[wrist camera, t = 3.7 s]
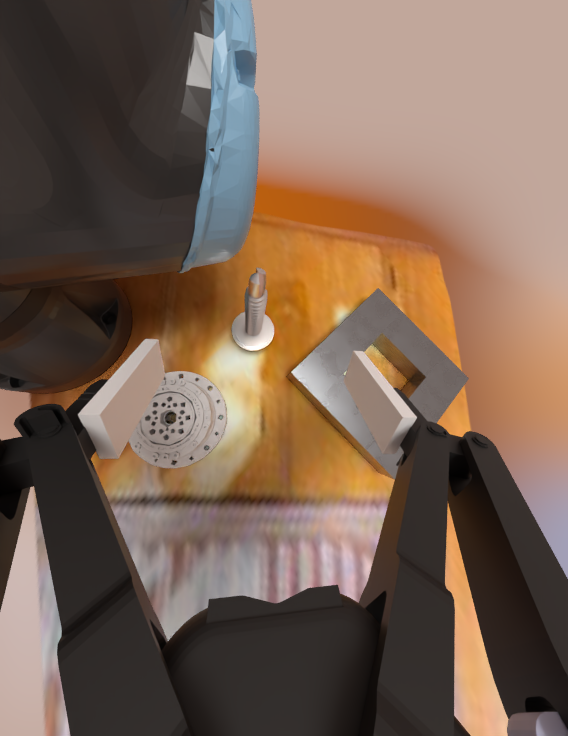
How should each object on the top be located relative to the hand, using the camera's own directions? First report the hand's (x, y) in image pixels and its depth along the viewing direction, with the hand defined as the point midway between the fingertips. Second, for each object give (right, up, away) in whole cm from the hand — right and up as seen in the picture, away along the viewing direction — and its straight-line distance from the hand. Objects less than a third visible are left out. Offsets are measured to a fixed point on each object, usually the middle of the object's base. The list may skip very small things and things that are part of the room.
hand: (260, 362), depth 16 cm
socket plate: (+13, -2, +14) cm, 19 cm away
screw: (-2, +3, +13) cm, 13 cm away
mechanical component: (-10, -6, +10) cm, 15 cm away
